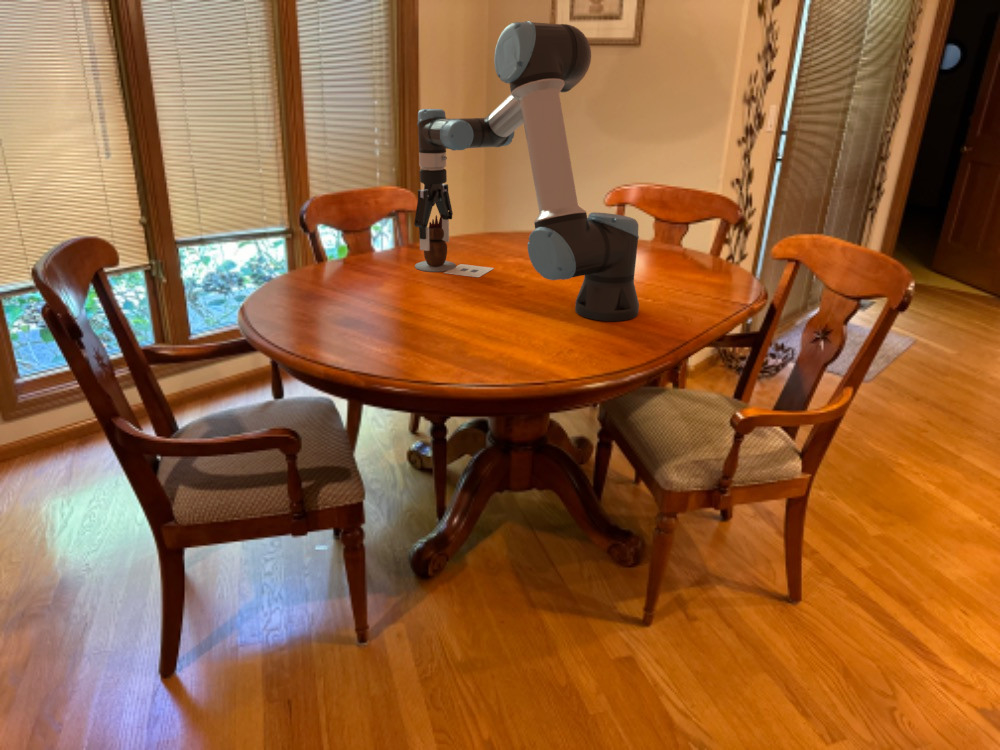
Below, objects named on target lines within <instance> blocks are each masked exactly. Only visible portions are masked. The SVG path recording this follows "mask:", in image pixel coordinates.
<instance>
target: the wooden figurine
mask: <svg viewBox="0 0 1000 750" xmlns="http://www.w3.org/2000/svg"><path fill="white" fill-rule="evenodd" d="M428 227H429V245H430V250H429V251H425V250H423V256H424V261H426V262H427V264H428V265H430V266H441V265H443V264H444V263H445V261H447V255H448V244H447V242H445V241H444V240H442V239H443V237H444V231H443V229H442V214H441V216H440V215H439V220H438V216H437V215H435V218H432V221H429V222H428Z"/></svg>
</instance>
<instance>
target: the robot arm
mask: <svg viewBox="0 0 1000 750" xmlns="http://www.w3.org/2000/svg"><path fill="white" fill-rule="evenodd" d="M495 45H496V46H495V49H494V57H493V58H494V69H495V73H496V76H497V77H498V78H499V80H500V81H501V82H503V83H504V84H508V85H509V88H510V94H509V95H508V96H507V97H506V98H504V100H503V101H502V102H501V103H499V105H498V106H497V107H496V108H495V109H494V110H492V111H491V113H489V114H488V115H487V116H485V117H474V118H473V117H472V118H448V117H447V116H446V112H445V110H444V109H441V108H422V109H420V110H418V112H417V123H416V124H417V139H418V156H419V157H418V165H419V167H420V169H419V182H420V183H421V184H423V185H424V187H423V189H418V190H417V204H416V211H415V217H414V227H415V228H418V229H419V231H418V232H419V233H418V234H419V250H420V251H424V250H425V251H429V250H430V245H429V222H430V217H431V214H432V211H433V207H434V206H436V208H437V211H438V213H439V217H440V216H441V214H442V229H443V231H444V237H443V239H442V240H444V241H445V242H446V243H449V242H450V220H452V219H453V215H454V213H453V209H452V203H451V199H450V194H449V184H446V183H447V182H448V181H447V180H448V179H447V177H448V175H447V169H446V167H447V160H448V157H447V150H451V151H453V152H454V151H465V150H466V149H477V148H480V149H481V148H500V147H505V146H509V145H510V144H511V143H512V142H513V139H514V137H515V131H516V130H517V129H519V128H520V127H521V126H522V125H523V128H524V133H525V139H526V144H527V150H528V156H529V162H530V167H531V173H532V178H533V179H532V180H533V183H534V189H535V195H536V201H537V207H538V215H537V217H536V218H535V219H534V222H533V224H534V229H533V230H532V231H531V232H530V234H529V236H528V240H529V241H528V242H527V253H528V254H527V255H528V257H529V260H530V263H531V265H532V267H533V268H534V270H535V271H536V272H537V273H538V274H540V276H541V277H542V278H544V279H546V280H550V281H557V280H558V281H559V280H564V281H565V280H568V279H571V278H576V277H582V276H584V278H583V282H582V283H581V287H580V288H579V291H578V294H577V297H576V298H575V303H574V304H575V306H574V309H575V310H574V312H575V313H576V314H577V315H579V316H581V317H583V318H587V319H590V320H595V321H600V322H601V321H602V322H622V321H623V322H624V321H629V320H632V319H634V318H636V317H637V316H638V315H639V309H640V302H639V300H638V299H639V298H638V294H637V290H636V286H635V272H636V264H637V253H638V244H639V243H638V242H639V238H640V236H639V223H638V220H637V219H635V218H634V217H631V216H627V215H626V216H625V215H621V214H615V213H607V212H595V211H594V212H590V213H589V214H587V211H586V210H585V209H584V208H582V207H581V206H579V203H578V197H577V193H576V185H575V179H574V174H573V168H572V161H571V156H570V155H571V154H570V150H569V149H570V148H569V144H568V139H567V131H566V127H565V121H564V120H565V119H564V114H563V109H562V103H561V97H560V96H561V95H560V94H561V93H567V92H570V91H571V90H572V89H573V88H574V87H576V86H577V85H578V84H579V83H580V82H581V81H582V80H583V79H584V77H585V76H586V75H587V73H588V71H589V69H590V66H591V60H592V49H591V44H590V43H589V40H588V37H587V36H586V35H585V34H584V32H582V31H581V30H580V29H579V28H577V27H576V26H574V25H571V24H567V23H565V24H564V23H547V22H532V21H530V20H528V21H516V22H515V21H514V22H512V23H510V24H508V25H507V26H506V27H504V29H503V30H502V31H501V33H500V35H499V36H498V39H497V43H496V44H495Z"/></svg>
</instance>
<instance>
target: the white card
mask: <svg viewBox="0 0 1000 750" xmlns="http://www.w3.org/2000/svg"><path fill="white" fill-rule="evenodd" d="M494 269H495V268H494V267H488V266H479V265H473V264H471V265H470V264H465V263H463V264H461V263H460V264H458V265H456V267H455V268H454V269H451V270H448V271H443V274H447V275H456V276H462V277H463V276H464V277H472V278H480V277H482V276H484V275H486V274H487V273H489V272H491V271H492V270H494Z"/></svg>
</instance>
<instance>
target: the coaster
mask: <svg viewBox="0 0 1000 750" xmlns="http://www.w3.org/2000/svg"><path fill="white" fill-rule="evenodd" d="M456 266H457V265H456V263H454V262H452V261H448V260H446V261H445V263H444V264H443V265H441V266H430V265H428V264H427V262H426V260H424V261H420V262H417V263H416V264H414V267H415V269H416V270H418V271H422V272H429V273H440V272H443V273H444V272H446V271H448V270H451V269H454V268H455V267H456Z"/></svg>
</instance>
